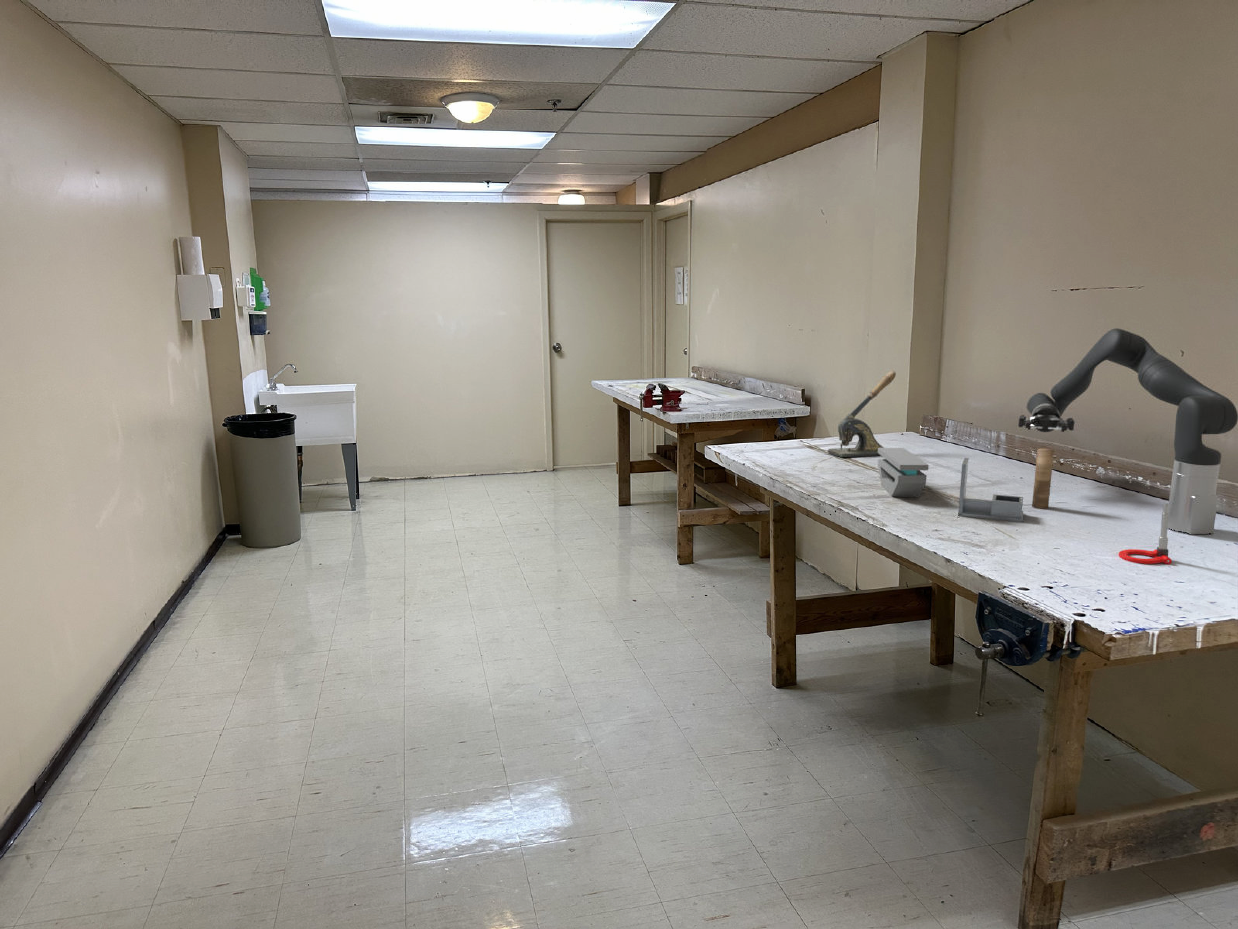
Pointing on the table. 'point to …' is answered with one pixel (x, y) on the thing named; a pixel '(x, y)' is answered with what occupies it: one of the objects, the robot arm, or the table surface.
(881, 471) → the grey lidded box
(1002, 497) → the bracket
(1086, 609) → the table surface
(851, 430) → the embossing press
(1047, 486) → the tan wooden cylinder
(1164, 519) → the tow hook
